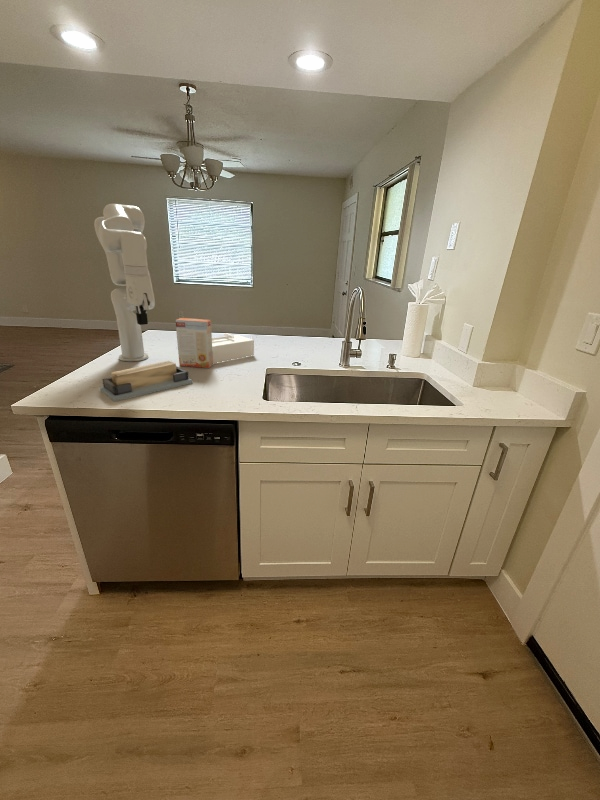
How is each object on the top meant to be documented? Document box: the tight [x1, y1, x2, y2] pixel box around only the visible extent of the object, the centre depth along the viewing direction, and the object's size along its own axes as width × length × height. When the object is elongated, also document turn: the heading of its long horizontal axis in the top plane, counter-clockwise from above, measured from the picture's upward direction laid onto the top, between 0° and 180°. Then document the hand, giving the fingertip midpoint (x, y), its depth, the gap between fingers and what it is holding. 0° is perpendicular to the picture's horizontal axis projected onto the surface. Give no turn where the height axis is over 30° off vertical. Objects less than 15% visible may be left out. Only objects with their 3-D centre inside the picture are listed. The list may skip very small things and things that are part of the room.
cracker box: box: [175, 317, 214, 369], centre depth 151 cm, size 14×6×21 cm, turn 84°
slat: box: [110, 360, 177, 389], centre depth 126 cm, size 5×22×6 cm, turn 141°
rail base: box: [99, 365, 193, 402], centre depth 127 cm, size 13×29×4 cm, turn 137°
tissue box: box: [212, 332, 255, 364], centre depth 169 cm, size 14×25×11 cm, turn 136°
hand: (142, 323), depth 125 cm, fingers closed
